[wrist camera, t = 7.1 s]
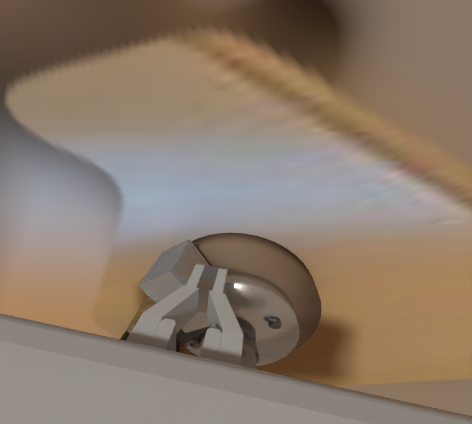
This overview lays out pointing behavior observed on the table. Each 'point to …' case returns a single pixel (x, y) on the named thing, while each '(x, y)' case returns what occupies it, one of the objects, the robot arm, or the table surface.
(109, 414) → the robot arm
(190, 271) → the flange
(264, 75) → the table surface
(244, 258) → the walnut base
